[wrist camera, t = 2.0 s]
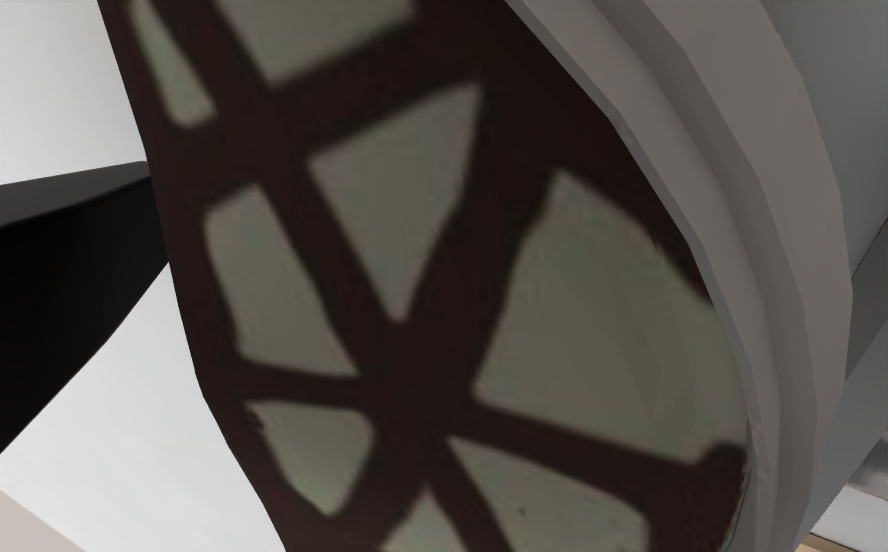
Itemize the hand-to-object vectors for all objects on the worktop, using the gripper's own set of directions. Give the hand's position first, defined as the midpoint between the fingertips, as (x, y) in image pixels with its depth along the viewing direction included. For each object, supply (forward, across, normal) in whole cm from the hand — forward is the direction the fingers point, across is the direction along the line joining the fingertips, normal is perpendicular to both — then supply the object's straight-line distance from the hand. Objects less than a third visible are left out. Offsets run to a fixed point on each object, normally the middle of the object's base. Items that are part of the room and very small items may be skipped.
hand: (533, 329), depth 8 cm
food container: (+8, 0, 0) cm, 8 cm away
